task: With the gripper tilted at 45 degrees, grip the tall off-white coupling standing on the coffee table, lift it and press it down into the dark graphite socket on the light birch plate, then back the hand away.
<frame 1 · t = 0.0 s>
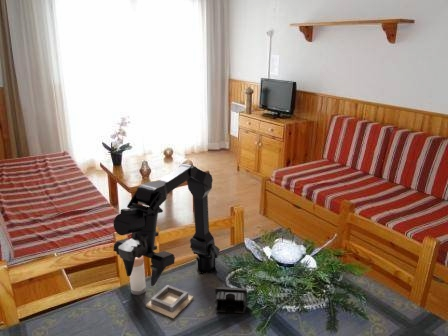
hand: (140, 280, 110), 15 cm above the table, tool pointing down, fingers open, 9 cm apart
coupling: (138, 290, 130), on the table
socket plate: (170, 302, 124), on the table
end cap: (230, 308, 122), on the table
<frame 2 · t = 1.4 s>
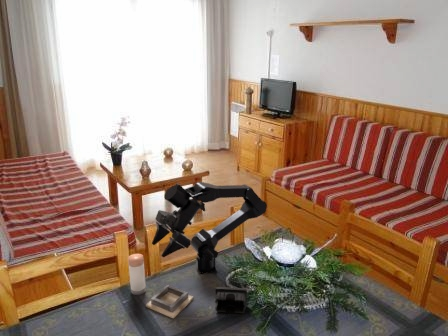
hand: (157, 250, 130), 13 cm above the table, tool tilted 45°, fingers open, 9 cm apart
nothing on the table moved.
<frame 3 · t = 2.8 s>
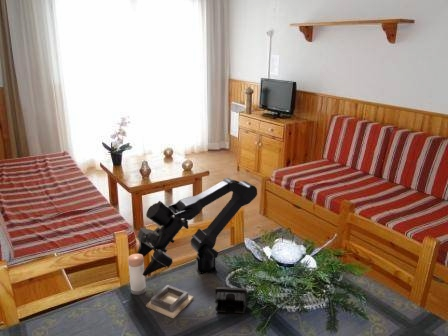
hand: (139, 268, 128), 8 cm above the table, tool tilted 45°, fingers open, 9 cm apart
nothing on the table moved.
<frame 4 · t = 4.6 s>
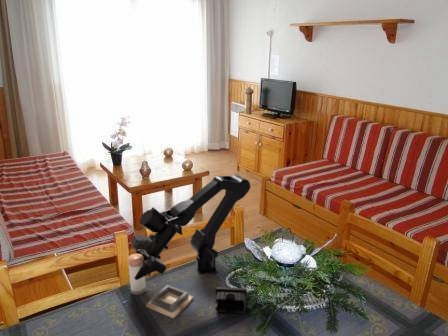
hand: (133, 275, 127), 7 cm above the table, tool tilted 45°, fingers closed on coupling, 5 cm apart
coupling: (138, 290, 130), on the table, touching gripper
everything else where it was.
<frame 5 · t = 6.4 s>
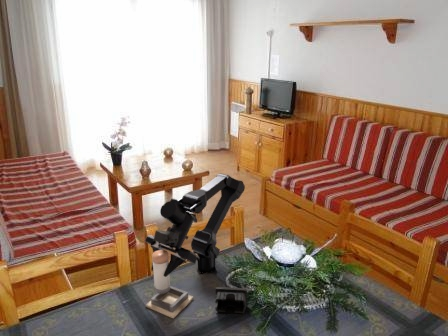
hand: (158, 273, 120), 11 cm above the table, tool tilted 45°, fingers closed on coupling, 5 cm apart
coupling: (162, 288, 123), point 5 cm above the table, touching gripper
everything else where it was.
when the fingers open (8 cm above the table, at t = 8.2 s): coupling stays where it is, resting on socket plate.
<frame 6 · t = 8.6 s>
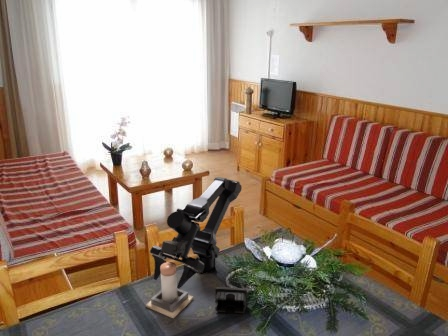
hand: (166, 284, 120), 8 cm above the table, tool tilted 45°, fingers open, 9 cm apart
coupling: (170, 300, 124), point 1 cm above the table, touching socket plate
everything else where it was.
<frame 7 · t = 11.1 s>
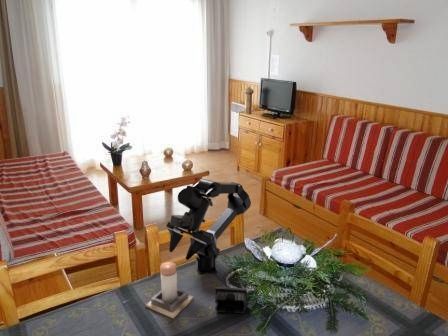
hand: (178, 255, 128), 13 cm above the table, tool tilted 40°, fingers open, 9 cm apart
nothing on the table moved.
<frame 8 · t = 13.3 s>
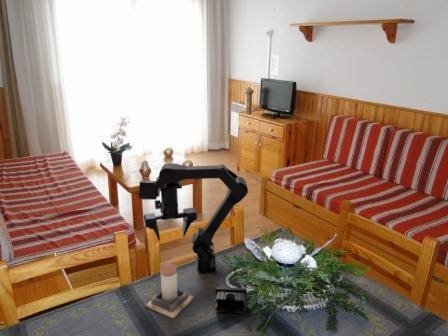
hand: (171, 238, 139), 13 cm above the table, tool pointing down, fingers open, 9 cm apart
nothing on the table moved.
at the end: coupling 0.0 cm off-centre on the socket plate, point 0.8 cm above the socket plate's base; coupling tilted 0°; the gripper is holding nothing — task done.
